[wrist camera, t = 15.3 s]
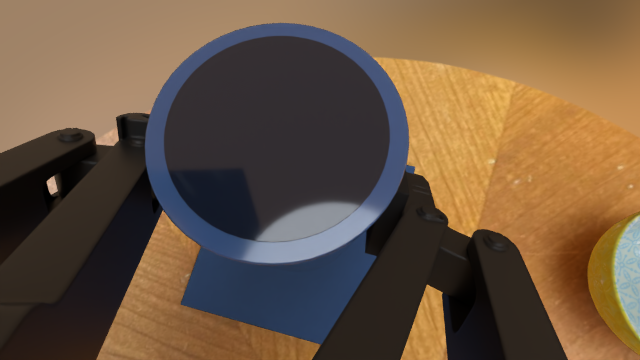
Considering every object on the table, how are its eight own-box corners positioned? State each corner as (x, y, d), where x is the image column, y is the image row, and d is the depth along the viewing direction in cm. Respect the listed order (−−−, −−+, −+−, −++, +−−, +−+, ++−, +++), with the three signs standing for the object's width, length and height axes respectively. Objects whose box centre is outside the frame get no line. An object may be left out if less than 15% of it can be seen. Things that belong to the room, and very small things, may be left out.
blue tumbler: (263, 148, 20) (199, -1, 9) (367, 174, 19) (429, 49, 9) (227, 254, 18) (95, 222, 7) (342, 286, 17) (381, 301, 7)
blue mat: (245, 127, 30) (244, 125, 29) (413, 168, 29) (415, 166, 28) (182, 304, 25) (180, 304, 25) (378, 359, 24) (379, 361, 24)
